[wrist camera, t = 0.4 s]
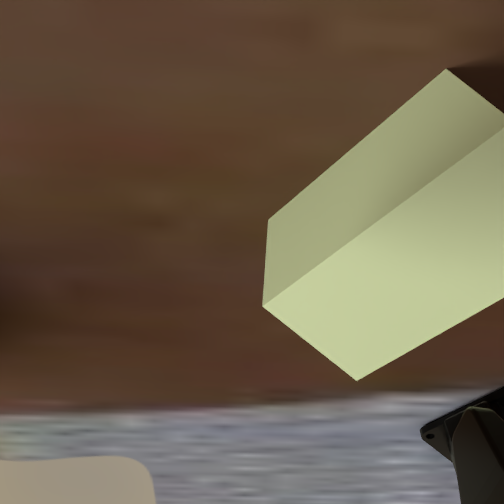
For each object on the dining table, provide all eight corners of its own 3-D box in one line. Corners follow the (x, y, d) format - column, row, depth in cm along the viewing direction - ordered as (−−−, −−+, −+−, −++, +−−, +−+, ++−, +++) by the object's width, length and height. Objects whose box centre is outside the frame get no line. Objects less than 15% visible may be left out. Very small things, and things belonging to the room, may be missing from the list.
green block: (516, 160, 18) (602, 241, 13) (341, 283, 22) (356, 380, 17) (445, 67, 17) (512, 121, 12) (268, 218, 20) (262, 306, 16)
